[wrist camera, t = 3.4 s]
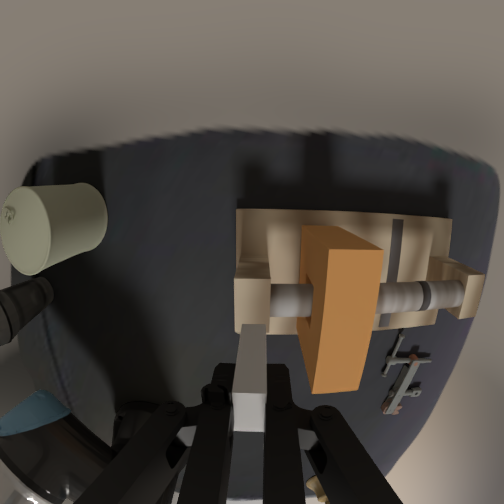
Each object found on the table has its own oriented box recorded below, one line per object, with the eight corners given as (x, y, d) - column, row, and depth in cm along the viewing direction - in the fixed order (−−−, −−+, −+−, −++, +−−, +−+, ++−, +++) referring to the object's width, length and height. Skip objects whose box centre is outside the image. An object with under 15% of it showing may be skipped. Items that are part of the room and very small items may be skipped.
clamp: (410, 413, 36) (363, 416, 36) (406, 405, 38) (359, 408, 38) (450, 340, 33) (401, 337, 32) (443, 333, 35) (395, 330, 35)
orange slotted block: (296, 327, 32) (311, 393, 20) (301, 225, 29) (328, 249, 18) (328, 326, 32) (357, 389, 20) (338, 226, 29) (383, 250, 17)
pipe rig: (237, 330, 34) (231, 375, 25) (236, 208, 31) (227, 217, 22) (431, 321, 34) (466, 352, 24) (448, 218, 30) (494, 229, 21)
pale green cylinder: (74, 170, 30) (11, 169, 19) (119, 207, 31) (59, 219, 20) (49, 226, 32) (-10, 242, 20) (90, 264, 33) (34, 295, 21)
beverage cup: (29, 298, 35) (-52, 349, 15) (31, 260, 33) (-62, 303, 14) (58, 319, 35) (-23, 384, 16) (62, 280, 34) (-35, 339, 14)
